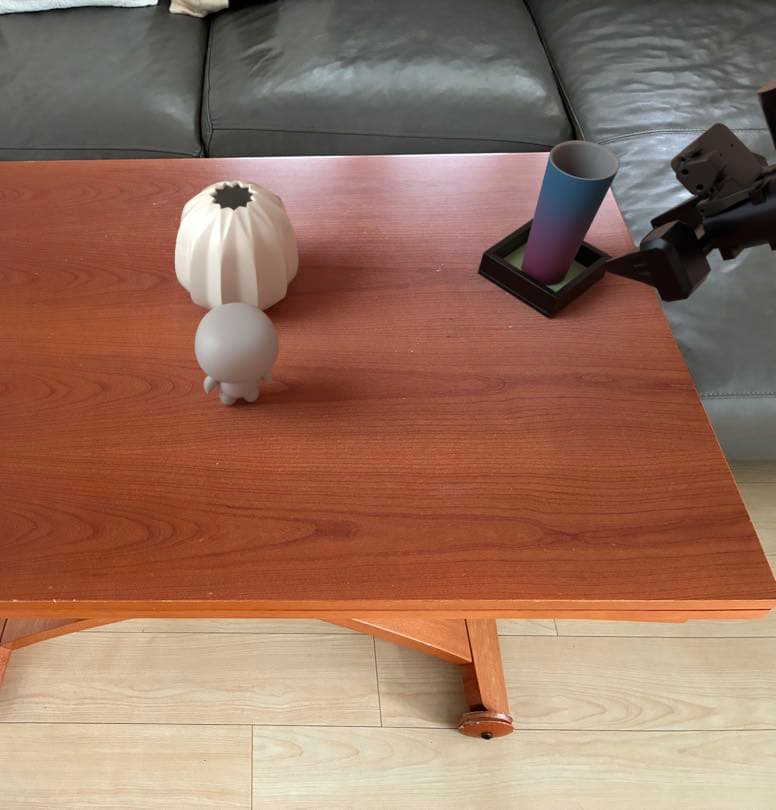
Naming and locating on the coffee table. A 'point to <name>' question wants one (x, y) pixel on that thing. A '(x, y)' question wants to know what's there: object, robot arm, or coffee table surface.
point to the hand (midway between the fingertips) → (629, 245)
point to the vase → (235, 246)
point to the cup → (567, 207)
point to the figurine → (236, 350)
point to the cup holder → (548, 300)
